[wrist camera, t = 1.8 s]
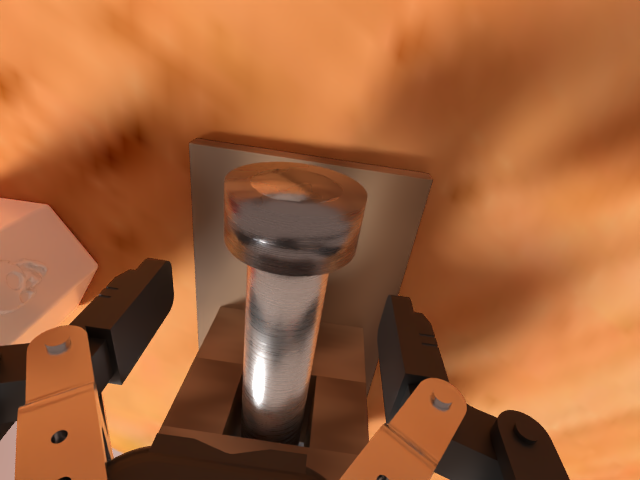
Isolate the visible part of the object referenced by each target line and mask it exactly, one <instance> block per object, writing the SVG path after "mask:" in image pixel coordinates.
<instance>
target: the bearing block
mask: <svg viewBox="0 0 640 480" xmlns="http://www.w3.org/2000/svg"><path fill="white" fill-rule="evenodd" d="M189 154H190V175H191V196H192V217H193V238H194V259H195V279H196V300H197V321H198V342H199V351H198V353H197V355H196V357H195V359H194V361H193V363H192V365H191V367H190V369H189V371H188V373H187V376H186V378H185V380H184V382H183V384H182V386H181V388H180V390H179V392H178V394H177V396H176V398H175V400H174V402H173V404H172V406H171V408H170V410H169V412H168V414H167V416H166V418H165V420H164V422H163V424H162V426H161V428H160V430H159V434H166V435H173V436H180V437H187V438H194V439H197V440H199V441H201V442H203V443H206V444H208V445H210V446H212V447H214V448H217V449H219V450H221V451H223V452H226V453H229V454H236V453H244V452H252V451H260V450H268V449H272V450H280V451H287V452H294V453H301V454H307V461H306V467H308V468H310V469H312V470H314V471H316V472H317V473H319V474H320V475H322V476H323V477H324V478H326V479H327V480H339V479H340V478H341V477H342V475H343V474H344V473H345V472H346V470H347V469H348V468H349V467H350V465H351V464H352V463H353V461H354V460H355V459H356V458H357V456H358V455H359V454H360V453H361V451H362V450H363V449H364V447H365V446H366V445H367V444H368V442H369V434H368V415H367V395H368V392H369V389H370V386H371V382H372V379H373V376H374V372H375V369H376V366H377V363H378V359H379V354H378V345H377V334H378V327H379V323H380V320H381V316H382V313H383V310H384V306H385V303H386V300H387V297H388V295H396V296H398V293H399V290H400V287H401V283H402V280H403V277H404V274H405V270H406V267H407V264H408V260H409V257H410V254H411V251H412V247H413V244H414V241H415V237H416V234H417V231H418V227H419V224H420V221H421V218H422V214H423V211H424V208H425V204H426V201H427V198H428V195H429V191H430V188H431V185H432V181H433V179H432V178H431V176H430V175H429V173H422V172H415V171H409V170H402V169H396V168H389V167H383V166H376V165H369V164H363V163H356V162H350V161H343V160H337V159H330V158H324V157H317V156H310V155H304V154H297V153H291V152H284V151H278V150H271V149H264V148H258V147H251V146H245V145H238V144H232V143H225V142H218V141H212V140H205V139H199V138H196V139H195V140H193V141H191V142H190V143H189ZM260 162H294V163H302V164H309V165H314V166H319V167H323V168H327V169H330V170H333V171H336V172H339V173H342V174H344V175H346V176H348V177H350V178H352V179H354V180H355V181H357V182H358V183H359V184H361V185H362V186H363V187H364V189H365V190H366V192H367V195H368V196H367V203H366V207H365V212H364V217H363V221H362V226H361V231H360V235H359V240H358V245H357V249H356V253H355V256H354V258H353V259H352V260H351V261H350V262H349V263H348V264H347V265H346V266H344V267H343V268H341V269H338V270H336V271H333V272H330V273H329V275H328V280H327V286H326V292H325V297H324V303H323V309H322V315H321V320H320V326H319V332H318V337H317V343H316V349H315V354H314V360H313V366H312V371H311V377H310V383H309V388H308V394H307V400H306V405H305V411H304V417H303V422H302V428H301V434H300V439H299V442H303V443H304V447H302V446H295V445H289V444H282V443H275V442H269V441H262V440H255V439H249V438H242V437H241V411H242V386H243V360H244V334H245V308H246V283H247V264H245V263H243V262H241V261H240V260H238V259H237V258H236V257H235V256H233V255H232V254H231V252H230V251H229V250H228V248H227V247H226V245H225V242H224V179H225V177H226V175H227V174H228V173H229V172H230V171H232V170H234V169H235V168H238V167H240V166H244V165H248V164H252V163H260Z"/></svg>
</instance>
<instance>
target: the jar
mask: <svg viewBox="0 0 640 480" xmlns="http://www.w3.org/2000/svg"><path fill="white" fill-rule="evenodd" d="M97 268H98V264H97V263H96V261H95V260H94V259H93V258H92V256H91V255H90V254H89V253H88V252H87V250H86V249H85V248H84V247H83V246H82V244H81V243H80V242H79V241H78V240H77V238H76V237H75V236H74V235H73V233H72V232H71V231H70V230H69V229H68V227H67V226H66V225H65V224H64V223H63V221H62V220H61V219H60V218H59V217H58V215H57V214H56V213H55V212H54V210H53V209H52V208H51V207H50V206H49V205H47V204H42V203H35V202H28V201H21V200H14V199H6V198H0V346H4V345H14V344H25V343H31V341H32V340H33V339H34V338H36V337H37V336H38V335H40V334H41V333H43V332H45V331H47V330H49V329H52V328H55V327H58V326H59V325H60V324H61V323H62V322H63V321H64V320H65V319H66V318H67V317H68V316H70V315H71V314H72V313H73V312H74V311H75V310H76V309H77V307H78V305H79V303H80V301H81V299H82V297H83V295H84V294H85V292H86V290H87V288H88V286H89V284H90V282H91V280H92V278H93V276H94V274H95V272H96V270H97Z"/></svg>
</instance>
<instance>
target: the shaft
mask: <svg viewBox="0 0 640 480" xmlns="http://www.w3.org/2000/svg"><path fill="white" fill-rule="evenodd" d="M367 196H368V195H367V192H366V190H365V189H364V187H363V186H362V185H361V184H359V183H358V182H357V181H355V180H354V179H352V178H350V177H348V176H346V175H344V174H342V173H339V172H336V171H333V170H330V169H327V168H323V167H319V166H314V165H309V164H302V163H294V162H260V163H252V164H248V165H244V166H240V167H238V168H235V169H234V170H232V171H230V172H229V173H228V174H227V175H226V177H225V179H224V242H225V245H226V247H227V248H228V250H229V251H230V252H231V254H232V255H233V256H235V257H236V258H237V259H238V260H240V261H241V262H243V263H245V264H247V283H246V308H245V334H244V360H243V386H242V411H241V437H242V438H249V439H255V440H262V441H269V442H275V443H282V444H289V445H295V446H298V445H299V439H300V434H301V428H302V422H303V417H304V411H305V405H306V400H307V394H308V388H309V383H310V377H311V371H312V366H313V360H314V354H315V349H316V343H317V337H318V332H319V326H320V320H321V315H322V309H323V303H324V297H325V292H326V286H327V280H328V275H329V273H330V272H333V271H336V270H338V269H341V268H343V267H344V266H346V265H347V264H348V263H349V262H350V261H351V260H352V259H353V258H354V256H355V253H356V249H357V245H358V240H359V235H360V231H361V226H362V221H363V217H364V212H365V207H366V203H367Z"/></svg>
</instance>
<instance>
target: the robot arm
mask: <svg viewBox="0 0 640 480" xmlns="http://www.w3.org/2000/svg"><path fill="white" fill-rule="evenodd" d="M173 299H174V290H173V278H172V266H171V263H170V262H169V261H165V260H158V259H151V258H147V259H145V260H144V261H143V263H142V264H141V265H140V266H139V267H138V268H137V269H136V270H128V271H126V272H124V273H122V274H120V275H119V276H117V277H115V278H114V279H113V280H112V281H111V282H110V283H109V284H108V286H107V287H106V289H104V290H103V291H102V292H101V293H100V294H99V296H98V297H96V298H95V299H94V300H93V301H92V302H91V303H90V304H89V305H88V306H87V307H86V308H85V309H84V310H83V311H82V312H81V313H80V314H79V315H78V316H77V317H76V318H75V319H74V320H73V321H72V322H71V323H70V324H69V325H66V326H59V327H55V328H52V329H49V330H47V331H45V332H43V333H41V334H40V335H38V336H37V337H36V338H34V339H33V340H32V341H31V343H25V344H14V345H4V346H0V440H1V439H2V438H3V436H4V435H5V434H6V432H7V431H8V430H9V429H10V428H11V426H12V425H13V424H14V422H15V421H17V438H16V463H15V480H327V479H326V478H324V477H323V476H322V475H320V474H319V473H317V472H316V471H314V470H312V469H310V468H308V467H306V461H307V454H301V453H294V452H287V451H280V450H272V449H268V450H260V451H252V452H244V453H236V454H229V453H226V452H223V451H221V450H219V449H217V448H214V447H212V446H210V445H208V444H206V443H203V442H201V441H199V440H197V439H194V438H187V437H180V436H173V435H166V434H159V433H157V435H156V437H155V439H154V441H153V444H152V446H147V447H142V448H138V449H135V450H132V451H129V452H126V453H124V454H122V455H120V456H118V457H115V458H114V457H113V453H112V448H111V442H110V436H109V430H108V424H107V418H106V413H105V407H104V401H103V395H102V391H103V389H104V388H105V387H106V385H107V384H108V383H112V384H119V385H122V384H123V382H124V381H125V379H126V378H127V376H128V375H129V373H130V372H131V370H132V369H133V367H134V365H135V364H136V362H137V361H138V359H139V358H140V356H141V355H142V353H143V352H144V350H145V349H146V347H147V345H148V344H149V342H150V341H151V339H152V338H153V336H154V335H155V333H156V332H157V330H158V329H159V327H160V325H161V324H162V322H163V321H164V319H165V318H166V316H167V315H168V313H169V312H170V310H171V307H172V304H173ZM434 336H435V335H434V332H433V329H432V325H431V323H430V322H429V321H428V320H427V318H426V317H425V316H424V315H423V314H422V313H416V312H414V311H413V307H412V303H411V300H410V298H409V297H403V296H396V295H388V297H387V300H386V303H385V306H384V310H383V313H382V316H381V320H380V323H379V327H378V334H377V345H378V354H379V362H380V371H381V380H382V389H383V398H384V407H385V416H386V423H385V424H383V425H382V426H381V427H380V428H379V430H378V431H377V432H376V433H375V435H374V436H373V437H372V439H371V440H370V441H369V442H368V444H367V445H366V446H365V447H364V449H363V450H362V451H361V453H360V454H359V455H358V456H357V458H356V459H355V460H354V461H353V463H352V464H351V465H350V467H349V468H348V469H347V470H346V472H345V473H344V474H343V475H342V477H341V478H340V479H339V480H430V478H431V476H432V475H433V473H434V472H435V473H437V474H439V475H441V476H443V477H446V478H448V479H450V480H570V479H569V477H568V475H567V473H566V470H565V468H564V466H563V464H562V462H561V460H560V458H559V455H558V453H557V451H556V449H555V447H554V445H553V443H552V440H551V438H550V437H549V435H548V433H547V432H546V430H545V429H544V428H543V427H542V426H541V425H540V424H539V423H538V422H537V421H535V420H534V419H533V418H531V417H530V416H528V415H526V414H524V413H521V412H519V411H514V410H507V411H504V412H502V413H501V414H500V415H499V416H498V418H496V417H494V416H492V415H489V414H487V413H484V412H482V411H480V410H477V409H475V408H473V407H471V406H470V405H468V404H467V403H466V401H465V399H464V397H463V395H462V394H461V393H460V391H459V390H458V389H457V388H456V387H454V386H453V385H452V384H450V383H449V380H448V377H447V374H446V371H445V367H444V364H443V361H442V358H441V354H440V351H439V348H438V347H437V342H436V338H434ZM387 424H388V425H387Z"/></svg>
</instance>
